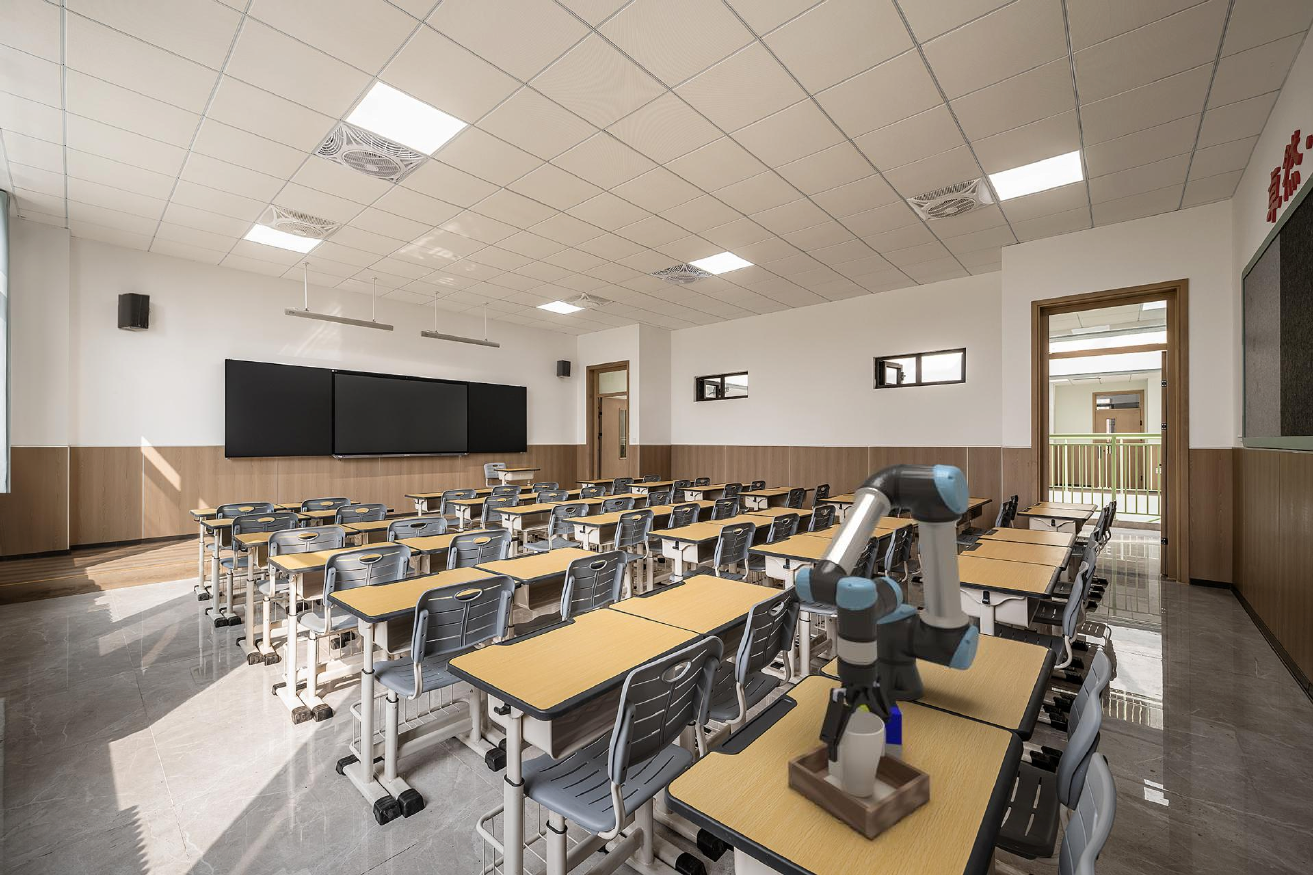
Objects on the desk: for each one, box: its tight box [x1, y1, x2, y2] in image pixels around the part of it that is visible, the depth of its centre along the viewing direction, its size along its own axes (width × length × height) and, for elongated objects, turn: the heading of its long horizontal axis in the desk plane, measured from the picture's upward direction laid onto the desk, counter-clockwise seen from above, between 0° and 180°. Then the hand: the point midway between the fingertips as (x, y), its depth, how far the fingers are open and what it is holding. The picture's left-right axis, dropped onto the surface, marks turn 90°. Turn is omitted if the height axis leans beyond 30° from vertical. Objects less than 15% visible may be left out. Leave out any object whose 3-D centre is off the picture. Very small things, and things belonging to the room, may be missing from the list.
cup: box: [840, 709, 885, 797], centre depth 111 cm, size 10×10×14 cm
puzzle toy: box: [847, 694, 903, 761], centre depth 128 cm, size 10×10×10 cm
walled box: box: [787, 742, 931, 842], centre depth 111 cm, size 19×19×5 cm
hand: (857, 764), depth 111 cm, fingers open, 13 cm apart
